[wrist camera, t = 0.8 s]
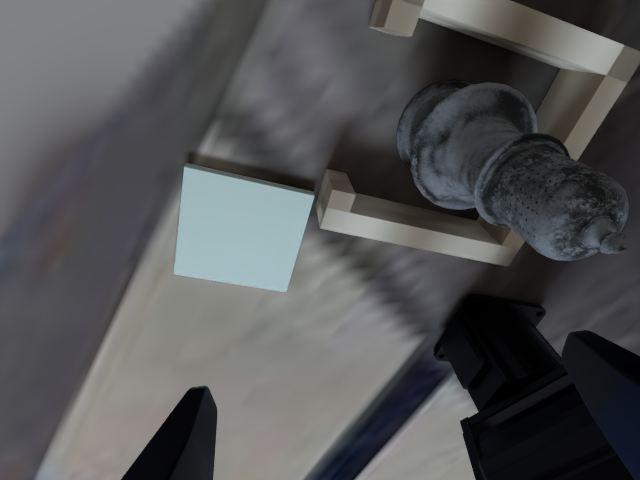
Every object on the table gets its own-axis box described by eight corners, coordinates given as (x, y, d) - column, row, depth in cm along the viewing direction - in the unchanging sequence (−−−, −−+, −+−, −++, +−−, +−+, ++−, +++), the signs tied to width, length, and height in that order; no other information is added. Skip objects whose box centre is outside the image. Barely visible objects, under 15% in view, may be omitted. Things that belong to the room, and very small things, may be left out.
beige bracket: (594, 49, 18) (646, 53, 15) (483, 240, 23) (508, 266, 21) (385, -30, 15) (405, -41, 13) (315, 203, 21) (320, 228, 18)
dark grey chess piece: (385, 185, 21) (487, 340, 10) (397, 73, 18) (555, 139, 7) (483, 181, 21) (672, 327, 11) (510, 72, 18) (807, 132, 8)
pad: (313, 191, 20) (314, 195, 20) (286, 286, 24) (286, 292, 23) (187, 162, 19) (184, 166, 18) (176, 268, 22) (173, 274, 22)
